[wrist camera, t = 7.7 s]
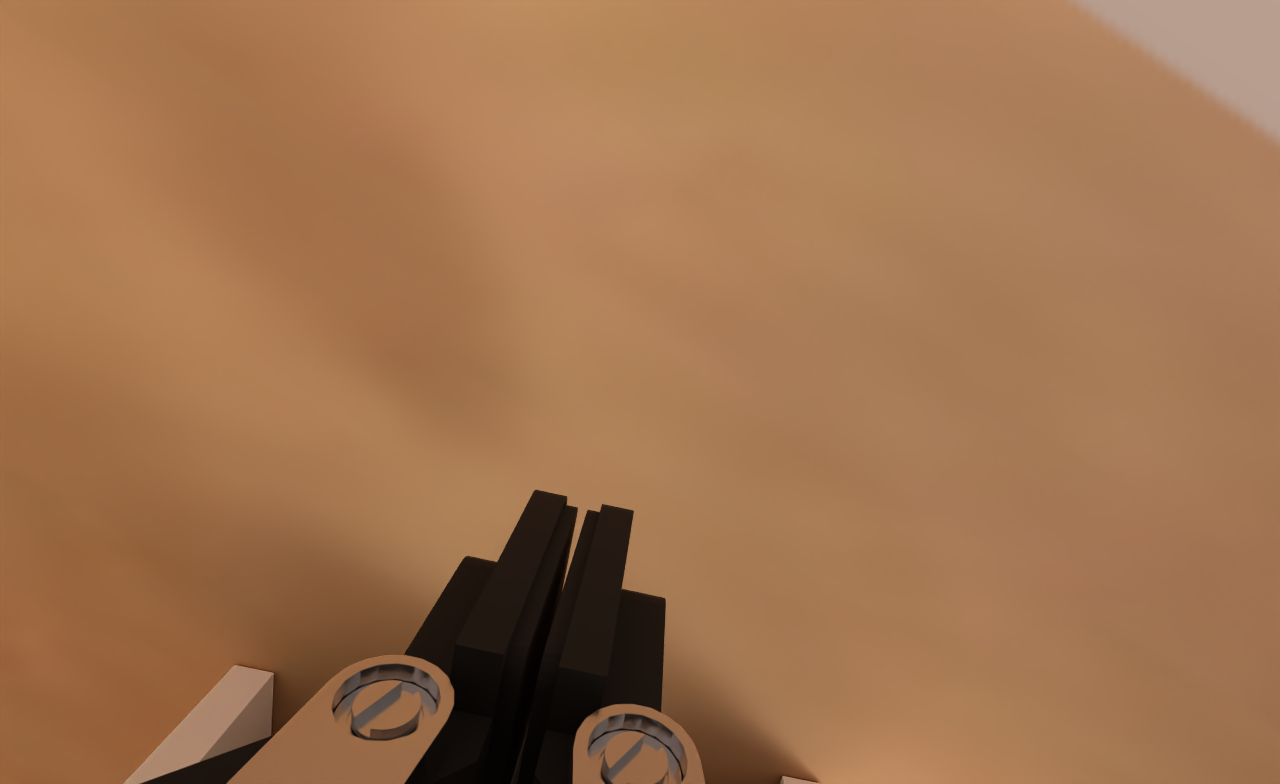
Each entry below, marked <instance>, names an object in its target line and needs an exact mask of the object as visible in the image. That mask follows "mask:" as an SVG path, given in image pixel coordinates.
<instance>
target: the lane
mask: <svg viewBox="0 0 1280 784" xmlns="http://www.w3.org/2000/svg"><path fill="white" fill-rule="evenodd" d="M273 684H274V673H272V672H267V671H262V670H257V669H252V668H248V667H243V666H238V665H234V666H233V667H232V668H231V669H230V670H229V671H228V672H227V673H226V674H225V676H224V677H223V678H222V679H221V680H220V681H219V682H218V683H217V684H216V685H215V686H214V687H213V688H212V689H211V690H210V692H209V693H208V694H207V695H206V696H205V697H204V698H203V699H202V700H201V701H200V702H199V703H198V704H197V705H196V706H195V707H194V709H193V710H192V711H191V712H190V713H189V714H188V715H187V716H186V717H185V718H184V719H183V720H182V721H181V722H180V723H179V725H178V726H177V727H176V728H175V729H174V730H173V731H172V732H171V733H170V734H169V735H168V736H167V737H166V738H165V739H164V741H163V742H162V743H161V744H160V745H159V746H158V747H157V748H156V749H155V750H154V751H153V752H152V753H151V754H150V755H149V757H148V758H147V759H146V760H145V761H144V762H143V763H142V764H141V765H140V766H139V767H138V768H137V769H136V770H135V771H134V773H133V774H132V775H131V776H130V777H129V778H128V779H127V780H126V781H125V782H124V783H123V784H140V783H143V782H146V781H148V780H151V779H154V778H157V777H159V776H162V775H165V774H168V773H170V772H173V771H176V770H179V769H181V768H184V767H187V766H190V765H193V764H195V763H198V762H201V761H204V760H206V759H209V758H212V757H215V756H217V755H220V754H223V753H226V752H228V751H231V750H234V749H237V748H240V747H242V746H245V745H248V744H251V743H253V742H256V741H259V740H262V739H264V738H267V737H270V736H271V727H272V705H273ZM780 784H820V783H815V782H810V781H805V780H800V779H796V778H791V777H786V776H782V779H781V782H780Z"/></svg>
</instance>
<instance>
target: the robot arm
mask: <svg viewBox="0 0 1280 784" xmlns="http://www.w3.org/2000/svg"><path fill="white" fill-rule="evenodd" d="M577 511H578V508H577V507H572V506H568V505H567V496H562V495H558V494H553V493H548V492H544V491H539V490H535V491H534V492H533V494H532V496H531V498H530V500H529V502H528V504H527V506H526V508H525V509H524V511H523V513H522V515H521V517H520V519H519V521H518V523H517V525H516V527H515V529H514V531H513V533H512V535H511V537H510V539H509V540H508V542H507V544H506V546H505V548H504V550H503V552H502V554H501V556H500V558H499V560H498V562H494V561H489V560H484V559H480V558H475V557H470V556H467V557H465V558H464V559H463V560H462V562H461V563H460V565H459V567H458V568H457V570H456V571H455V573H454V575H453V576H452V578H451V580H450V581H449V583H448V584H447V586H446V588H445V589H444V591H443V592H442V594H441V596H440V597H439V599H438V601H437V602H436V604H435V605H434V607H433V609H432V610H431V612H430V614H429V615H428V617H427V618H426V620H425V622H424V623H423V625H422V627H421V628H420V630H419V631H418V633H417V635H416V636H415V638H414V639H413V641H412V643H411V644H410V646H409V648H408V649H407V651H406V652H405V654H404V655H382V656H377V657H372V658H368V659H364V660H361V661H359V662H357V663H355V664H352V665H350V666H348V667H346V668H344V669H343V670H342V671H340V672H339V673H338V674H336V675H335V676H334V677H333V678H331V679H330V680H329V681H328V682H327V683H326V684H325V685H324V686H323V687H322V688H321V689H320V690H319V691H318V692H317V693H316V694H315V695H314V696H313V697H312V698H311V699H310V700H309V701H308V702H307V703H306V704H305V705H304V706H303V707H302V708H301V709H300V710H299V711H298V712H297V713H296V714H295V715H294V716H293V717H292V718H291V719H290V720H289V721H288V722H287V723H286V724H285V725H284V726H283V727H282V728H281V729H280V730H279V731H278V732H277V733H276V734H275V735H273V736H270V737H267V738H264V739H262V740H259V741H256V742H253V743H251V744H248V745H245V746H242V747H240V748H237V749H234V750H231V751H228V752H226V753H223V754H220V755H217V756H215V757H212V758H209V759H206V760H204V761H201V762H198V763H195V764H193V765H190V766H187V767H184V768H181V769H179V770H176V771H173V772H170V773H168V774H165V775H162V776H159V777H157V778H154V779H151V780H148V781H146V782H143V783H140V784H512V782H513V778H514V775H515V771H516V768H517V765H518V761H519V758H520V754H521V751H522V748H523V744H524V741H525V745H524V751H523V756H522V761H521V766H520V772H519V777H518V782H517V784H705V780H704V775H703V770H702V765H701V760H700V757H699V754H698V752H697V749H696V746H695V744H694V742H693V740H692V739H691V738H690V736H689V735H688V734H687V733H686V731H685V730H684V729H683V727H681V726H680V725H679V724H678V723H676V722H675V721H674V720H672V719H671V718H670V717H669V716H667V715H665V714H663V713H661V702H662V679H663V655H664V632H665V608H666V600H665V598H662V597H657V596H653V595H648V594H643V593H639V592H634V591H629V590H625V589H622V582H623V576H624V570H625V563H626V557H627V551H628V545H629V538H630V532H631V526H632V519H633V513H634V511H633V510H628V509H623V508H619V507H614V506H609V505H604V504H602V507H601V510H600V512H596V511H591V510H588V511H587V514H586V517H585V520H584V523H583V526H582V530H581V533H580V536H579V539H578V543H577V546H576V549H575V552H574V556H573V559H572V562H571V565H570V568H569V572H568V575H567V578H566V581H565V585H564V588H563V584H564V579H565V574H566V568H567V563H568V558H569V553H570V548H571V543H572V537H573V532H574V527H575V522H576V517H577ZM562 589H563V591H562ZM526 734H527V735H526ZM525 737H526V740H525Z"/></svg>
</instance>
